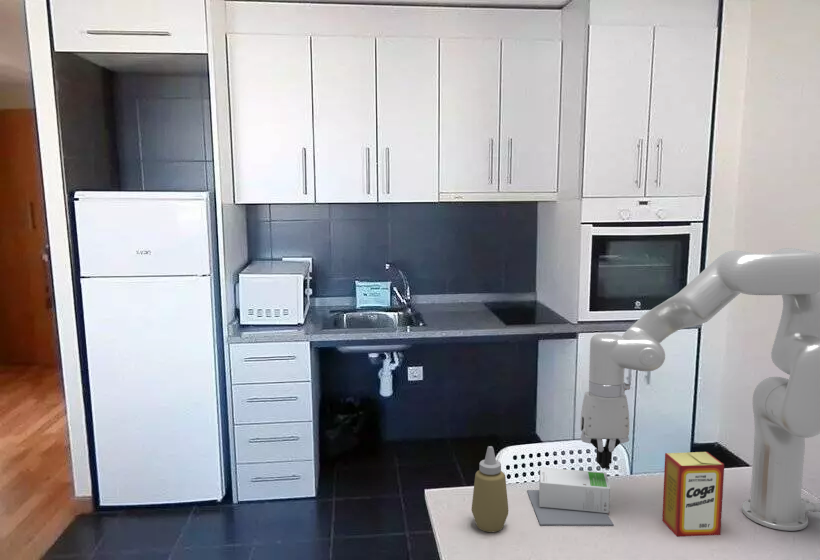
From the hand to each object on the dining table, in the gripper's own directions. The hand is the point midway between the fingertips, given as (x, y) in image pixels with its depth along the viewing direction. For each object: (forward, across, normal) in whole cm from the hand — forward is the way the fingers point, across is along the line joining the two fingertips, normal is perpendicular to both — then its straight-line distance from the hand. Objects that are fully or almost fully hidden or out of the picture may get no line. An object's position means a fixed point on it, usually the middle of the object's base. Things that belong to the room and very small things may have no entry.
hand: (603, 466), depth 137 cm
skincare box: (+7, -1, 0) cm, 7 cm away
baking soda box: (+10, -16, +9) cm, 21 cm away
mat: (+10, +8, 0) cm, 13 cm away
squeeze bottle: (+10, +27, +8) cm, 30 cm away
